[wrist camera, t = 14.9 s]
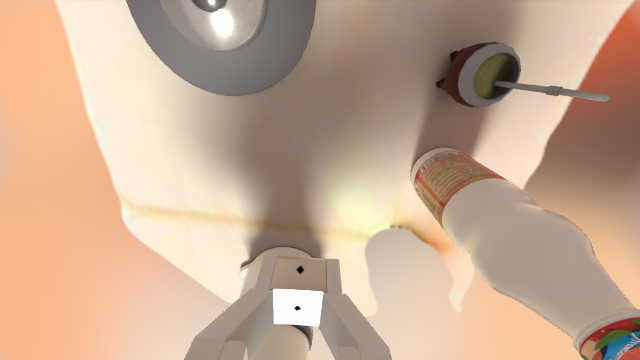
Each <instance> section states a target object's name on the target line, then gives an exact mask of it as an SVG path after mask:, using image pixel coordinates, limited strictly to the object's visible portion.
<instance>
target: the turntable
mask: <svg viewBox="0 0 640 360" xmlns="http://www.w3.org/2000/svg"><path fill="white" fill-rule="evenodd" d="M126 1H127V4H128V7H129V9H130V12H131V15H132V17H133V19H134V21H135V23H136V25H137V27H138V29H139V31H140V32H141V34H142V36H143V37H144V39H145V40H146V42H147V43H148V45H149V46H150V47H151V49H152V50H153V51H154V53H155V54H156V55H157V56H158V57H159V58H160V59H161V60H162V62H163V63H164V64H165V65H166V66H168V67H169V68H170V69H171V70H172V71H173V72H174V73H176V74H177V75H178V76H180V77H181V78H183V79H184V80H185V81H187V82H189V83H191V84H192V85H194V86H196V87H198V88H201V89H203V90H206V91H209V92H212V93H216V94H221V95H227V96H241V95H249V94H253V93H256V92H260V91H262V90H264V89H267V88H269V87H271V86H273V85H274V84H276V83H277V82H279V81H280V80H281V79H283V78H284V77H285V76H286V75H287V74H288V73H289V72H290V71H291V70H292V69H293V68H294V66H295V65H296V63H297V62H298V60H299V59H300V57H301V56H302V54H303V52H304V50H305V48H306V45H307V43H308V40H309V37H310V34H311V30H312V25H313V21H314V12H315V0H268V5H267V15H266V19H265V23H264V25H263V28H262V30H261V32H260V33H259V35H258V36H257V38H256V39H255V40H254V41H253V42H252V43H251V44H249V45H248V46H246V47H244V48H242V49H240V50H236V51H219V50H213V49H207V48H204V47H201V46H199V45H197V44H195V43H193V42H192V41H190V40H189V39H187V38H186V37H185V36H183V35H182V34H181V33H180V32H179V31H178V30H177V29H176V27H175V26H174V25H173V24H172V22H171V21H170V20H169V18H168V17H167V15H166V13H165V11H164V9H163V7H162V5H161V3H160V0H126Z"/></svg>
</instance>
